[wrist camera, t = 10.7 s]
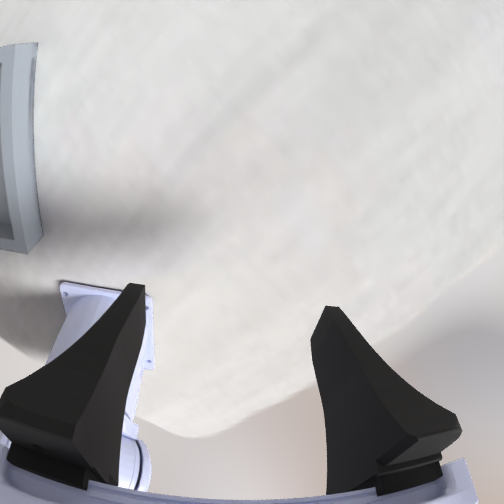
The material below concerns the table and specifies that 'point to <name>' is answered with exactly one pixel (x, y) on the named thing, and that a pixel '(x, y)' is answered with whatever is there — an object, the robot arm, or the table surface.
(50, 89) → the table surface
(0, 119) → the slate tray
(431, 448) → the robot arm
